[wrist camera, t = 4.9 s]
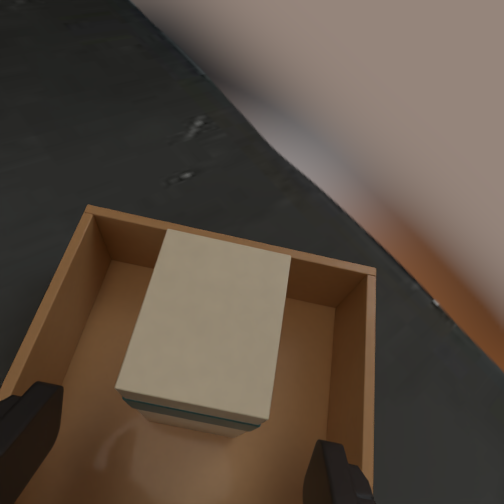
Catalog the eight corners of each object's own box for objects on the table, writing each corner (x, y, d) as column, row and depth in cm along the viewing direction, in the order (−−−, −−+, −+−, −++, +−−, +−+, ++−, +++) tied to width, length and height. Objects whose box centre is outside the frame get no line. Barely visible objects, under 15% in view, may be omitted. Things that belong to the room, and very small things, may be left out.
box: (320, 644, 17) (370, 716, 12) (-27, 582, 16) (-116, 631, 12) (341, 304, 25) (376, 267, 20) (107, 254, 24) (87, 203, 19)
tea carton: (235, 439, 20) (270, 422, 11) (146, 421, 20) (110, 390, 11) (253, 334, 23) (293, 254, 14) (175, 317, 22) (166, 226, 14)
